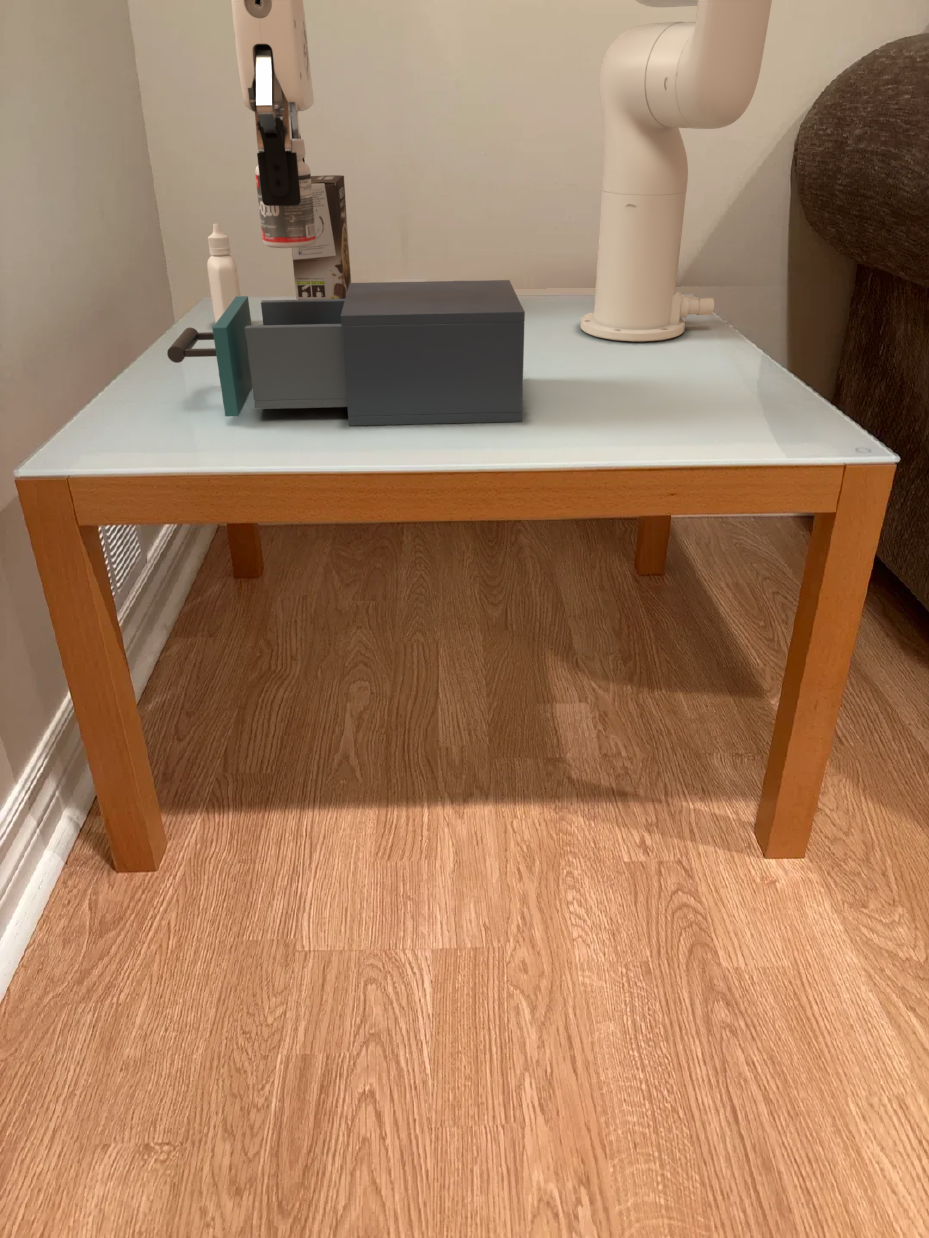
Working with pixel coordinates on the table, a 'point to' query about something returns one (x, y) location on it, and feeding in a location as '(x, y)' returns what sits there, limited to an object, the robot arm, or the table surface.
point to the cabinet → (433, 352)
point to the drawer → (275, 354)
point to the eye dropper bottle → (221, 272)
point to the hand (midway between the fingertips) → (285, 198)
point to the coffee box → (325, 245)
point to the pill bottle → (290, 211)
